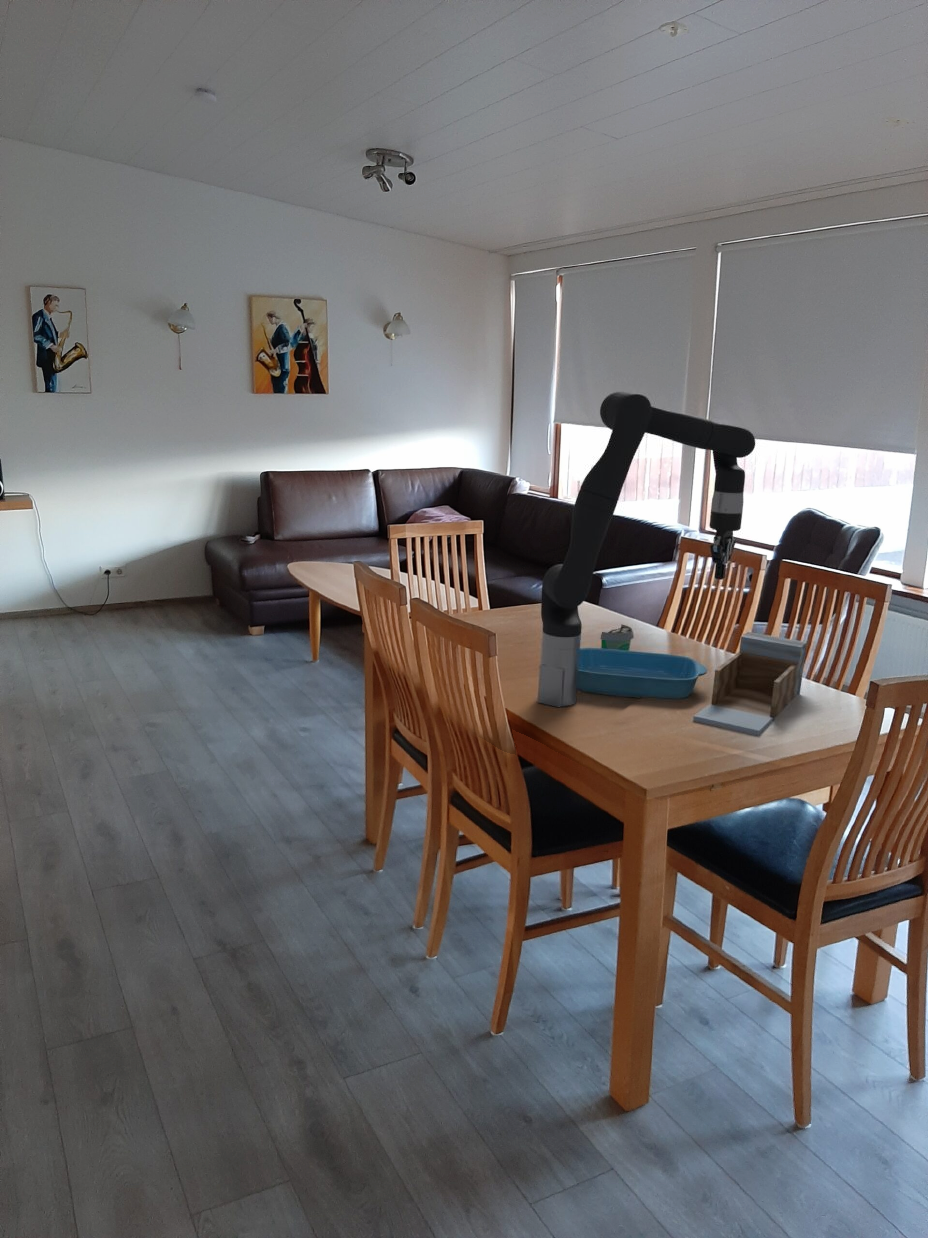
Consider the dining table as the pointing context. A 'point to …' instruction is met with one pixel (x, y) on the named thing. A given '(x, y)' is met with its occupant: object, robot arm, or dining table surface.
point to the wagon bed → (760, 675)
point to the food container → (617, 638)
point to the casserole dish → (637, 673)
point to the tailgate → (733, 719)
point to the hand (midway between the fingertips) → (719, 578)
